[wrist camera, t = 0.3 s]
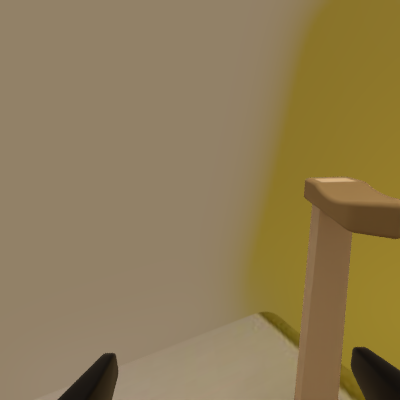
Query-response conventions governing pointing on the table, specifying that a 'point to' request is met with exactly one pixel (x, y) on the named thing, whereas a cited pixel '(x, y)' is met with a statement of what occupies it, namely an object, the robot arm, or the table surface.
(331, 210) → the headphone stand
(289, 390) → the table surface
